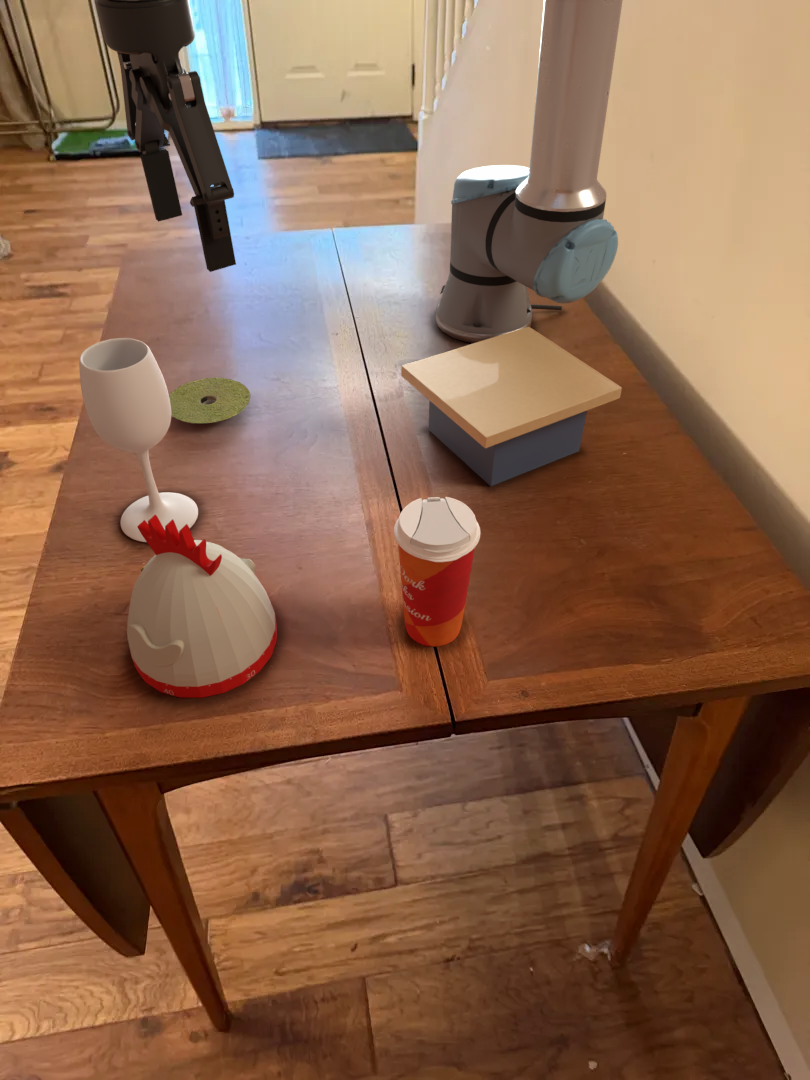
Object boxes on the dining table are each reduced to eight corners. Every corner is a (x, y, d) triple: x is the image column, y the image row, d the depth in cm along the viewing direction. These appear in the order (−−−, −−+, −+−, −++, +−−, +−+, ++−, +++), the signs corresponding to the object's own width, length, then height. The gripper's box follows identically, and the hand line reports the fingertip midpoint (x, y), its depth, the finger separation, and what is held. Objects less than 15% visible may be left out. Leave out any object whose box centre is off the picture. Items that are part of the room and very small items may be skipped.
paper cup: (391, 599, 80) (390, 494, 71) (465, 595, 81) (474, 489, 71) (397, 659, 74) (397, 553, 65) (477, 653, 75) (488, 548, 65)
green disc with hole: (269, 410, 106) (267, 397, 104) (201, 445, 100) (198, 432, 98) (218, 380, 111) (216, 368, 110) (151, 412, 105) (148, 399, 104)
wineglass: (212, 503, 91) (177, 340, 77) (172, 550, 85) (127, 384, 71) (148, 487, 93) (103, 326, 79) (105, 533, 87) (48, 368, 73)
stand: (521, 387, 110) (528, 326, 104) (607, 452, 99) (622, 387, 93) (400, 429, 103) (401, 365, 96) (480, 504, 91) (486, 437, 85)
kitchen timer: (192, 572, 83) (163, 459, 73) (303, 614, 78) (288, 500, 68) (102, 666, 73) (54, 551, 63) (222, 719, 69) (192, 605, 59)
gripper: (51, -30, 70) (117, 207, 85) (150, 28, 55) (209, 302, 70) (132, -41, 72) (182, 191, 88) (247, 12, 58) (283, 279, 73)
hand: (194, 241), depth 79 cm, fingers open, 13 cm apart
